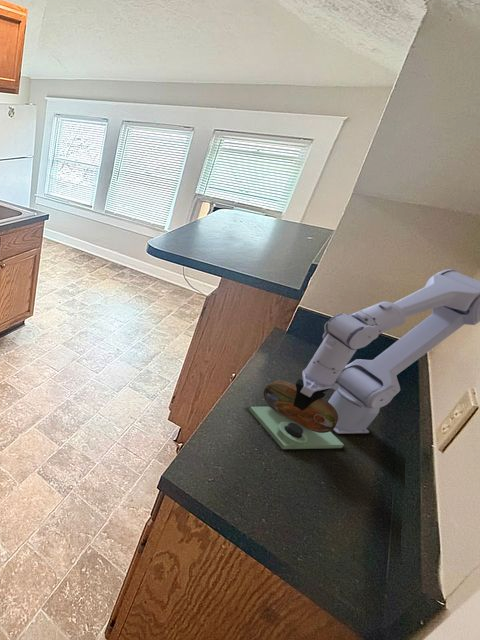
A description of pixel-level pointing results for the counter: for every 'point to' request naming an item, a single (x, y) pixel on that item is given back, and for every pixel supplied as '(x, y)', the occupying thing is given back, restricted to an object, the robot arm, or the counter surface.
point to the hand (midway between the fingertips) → (300, 404)
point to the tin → (314, 417)
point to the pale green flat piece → (276, 429)
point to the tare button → (294, 430)
